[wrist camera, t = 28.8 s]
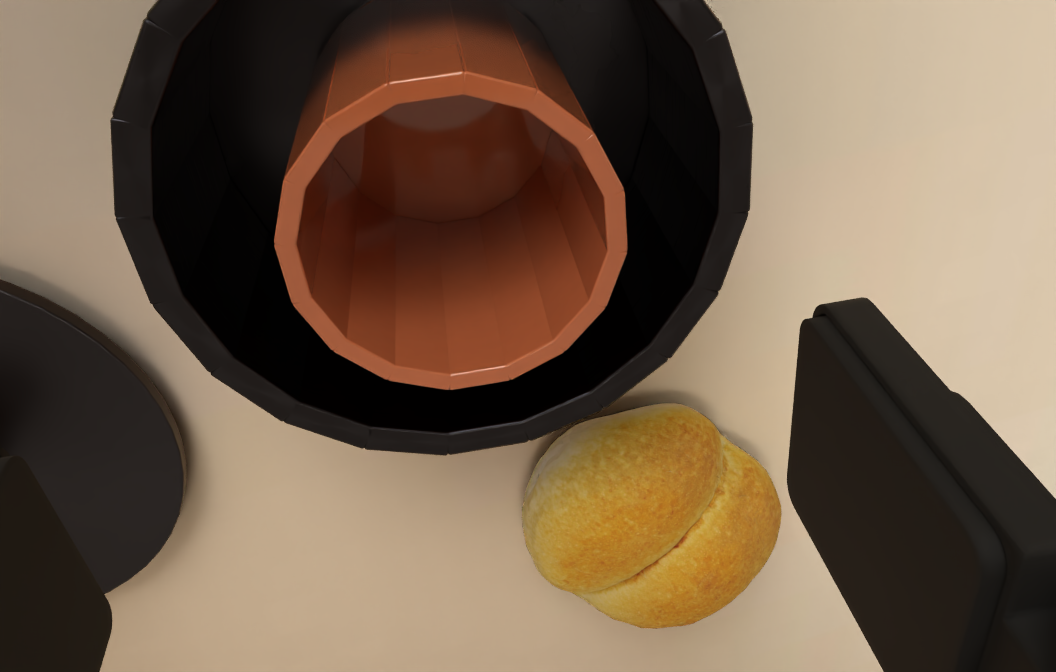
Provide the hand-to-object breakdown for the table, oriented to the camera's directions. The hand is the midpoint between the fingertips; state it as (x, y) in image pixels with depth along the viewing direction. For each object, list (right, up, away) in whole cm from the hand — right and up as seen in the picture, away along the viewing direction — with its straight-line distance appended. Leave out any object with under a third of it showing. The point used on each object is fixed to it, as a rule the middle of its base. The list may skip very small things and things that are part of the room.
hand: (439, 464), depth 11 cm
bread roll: (+5, -4, +21) cm, 22 cm away
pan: (-1, +8, +12) cm, 14 cm away
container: (-1, +7, +12) cm, 14 cm away
